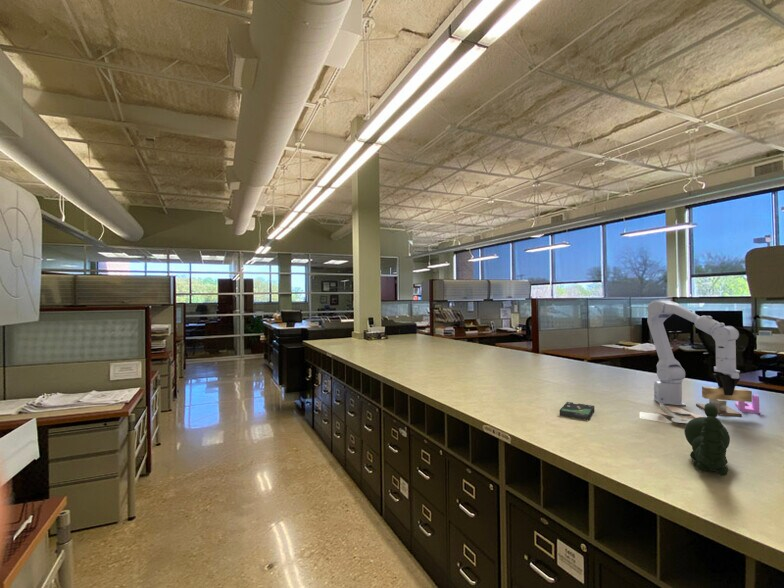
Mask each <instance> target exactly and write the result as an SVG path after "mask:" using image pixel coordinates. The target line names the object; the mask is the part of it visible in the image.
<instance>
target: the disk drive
mask: <svg viewBox="0 0 784 588" xmlns="http://www.w3.org/2000/svg"><path fill="white" fill-rule="evenodd" d="M594 413H595V405H591V404H585V403H574V402H573V401H572V402H571V401H566V402H565V404H564V405H563V406H562V407H561V408H560V409H559V416H560V417H564V418H569V419H570V418H571V419H577V420H581V421H582V420H583V421H590V420H591V418H592V416H593V414H594Z"/></svg>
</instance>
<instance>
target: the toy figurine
mask: <svg viewBox="0 0 784 588" xmlns="http://www.w3.org/2000/svg"><path fill="white" fill-rule="evenodd" d="M705 404H706V405H705V407H704V410H703V412H704V413H705V415H706V416H703V417H697V418H694V419H692V420H690V421H689V422H688V423H687V424H685V427H684V435H685V439H686V440H687V443H689V445H690V446H691V450H692V451H691V452H690V455H689V456H690V458H691V460H693V462H692V466H693V467H694V468H695V469H697V470H698V471H699V472H701V473H702V472H703V473H704V472H706V471H707V470H708V471H712V472H713V471H714V472H717V474H718V475H720V476H723V477H725V476H727V475H728V474H729V471H730V470H729V468H728V466H727V465H728V462H729V461H728V460H727V456H726V455H727V449H728V448H729V446H730V442H731V437H730V434H729V431H728V429H727V428H726V427H725V426H724V425H723V424H722V422H721V421H720V419H719V418H717V417H718V410H717V408H716V406H715V405H714V404H712V403H709V402H707V403H705Z"/></svg>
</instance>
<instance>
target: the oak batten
mask: <svg viewBox="0 0 784 588" xmlns="http://www.w3.org/2000/svg"><path fill="white" fill-rule="evenodd" d="M701 392H702V393H701V397H702V398H704V399H706V400H709V399H718V400H725V401H731V402H732V401H734V402H738V401H745V402H747V403H752V395H753V392H752V390H750V389H748V388H735V389H734V392H733V395H732V396H731V395H725V394H724V390H723V388H719V387H718V386H717V387H716V386H705V385H704V386H701Z"/></svg>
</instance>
